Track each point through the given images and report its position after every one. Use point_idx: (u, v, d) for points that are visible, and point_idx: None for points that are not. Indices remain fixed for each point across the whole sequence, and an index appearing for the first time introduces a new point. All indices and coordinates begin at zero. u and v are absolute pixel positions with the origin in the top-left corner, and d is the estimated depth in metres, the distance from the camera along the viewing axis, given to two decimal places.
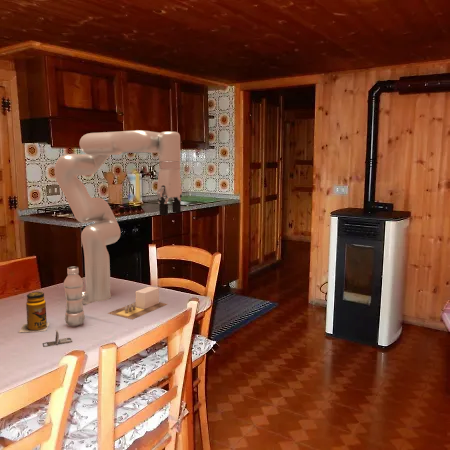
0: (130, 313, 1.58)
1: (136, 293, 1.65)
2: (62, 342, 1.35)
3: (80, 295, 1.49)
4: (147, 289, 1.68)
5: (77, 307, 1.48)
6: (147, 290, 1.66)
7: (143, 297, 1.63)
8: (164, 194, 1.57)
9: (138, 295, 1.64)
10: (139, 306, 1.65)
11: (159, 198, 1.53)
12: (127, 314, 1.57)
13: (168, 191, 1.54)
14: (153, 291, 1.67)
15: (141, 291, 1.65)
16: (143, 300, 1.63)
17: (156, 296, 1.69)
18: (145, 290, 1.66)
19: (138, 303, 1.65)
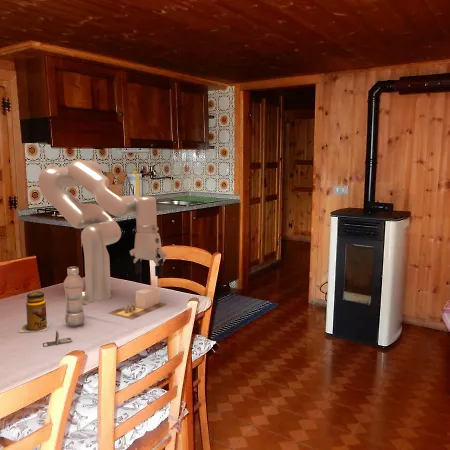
0: (130, 313, 1.58)
1: (136, 293, 1.65)
2: (62, 342, 1.35)
3: (80, 295, 1.49)
4: (147, 289, 1.68)
5: (77, 307, 1.48)
6: (147, 290, 1.66)
7: (143, 297, 1.63)
8: None
9: (138, 295, 1.64)
10: (139, 306, 1.65)
11: None
12: (127, 314, 1.57)
13: (134, 252, 1.66)
14: (153, 291, 1.67)
15: (141, 291, 1.65)
16: (143, 300, 1.63)
17: (156, 296, 1.69)
18: (145, 290, 1.66)
19: (138, 303, 1.65)
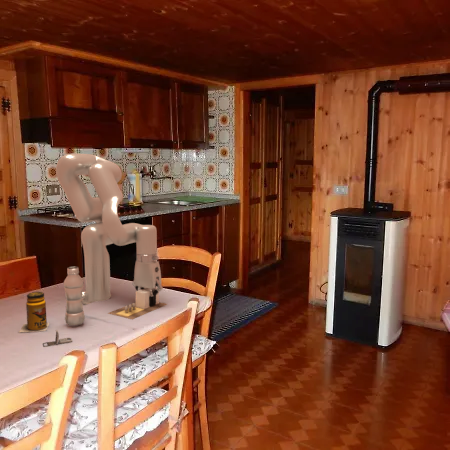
0: (130, 313, 1.58)
1: (136, 293, 1.65)
2: (62, 342, 1.35)
3: (80, 295, 1.49)
4: (147, 289, 1.68)
5: (77, 307, 1.48)
6: (147, 290, 1.66)
7: (143, 297, 1.63)
8: None
9: (138, 295, 1.64)
10: (139, 306, 1.65)
11: None
12: (127, 314, 1.57)
13: (134, 279, 1.68)
14: (153, 291, 1.67)
15: (141, 291, 1.65)
16: (143, 300, 1.63)
17: (156, 296, 1.69)
18: (145, 290, 1.66)
19: (138, 303, 1.65)
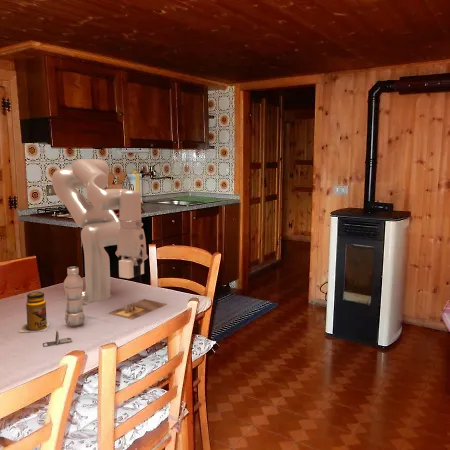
0: (130, 313, 1.58)
1: (119, 262, 1.55)
2: (62, 342, 1.35)
3: (80, 295, 1.49)
4: (131, 258, 1.58)
5: (77, 307, 1.48)
6: (131, 259, 1.57)
7: (127, 266, 1.54)
8: None
9: (122, 264, 1.55)
10: (123, 276, 1.55)
11: None
12: (127, 314, 1.57)
13: (117, 248, 1.58)
14: None
15: (125, 260, 1.56)
16: (127, 269, 1.54)
17: (141, 266, 1.60)
18: (129, 259, 1.57)
19: (122, 273, 1.55)
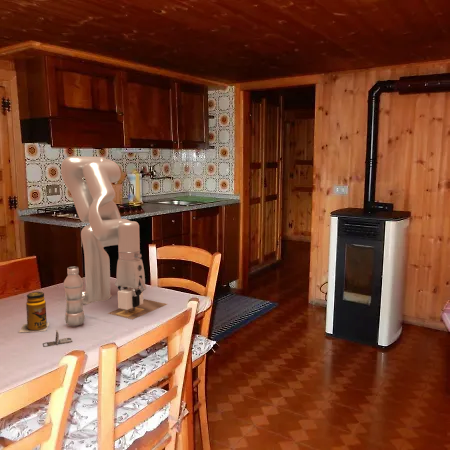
0: (130, 313, 1.58)
1: (118, 293, 1.56)
2: (62, 342, 1.35)
3: (80, 295, 1.49)
4: (130, 289, 1.59)
5: (77, 307, 1.48)
6: (130, 290, 1.57)
7: (125, 297, 1.54)
8: None
9: (120, 295, 1.56)
10: (121, 307, 1.56)
11: None
12: (127, 314, 1.57)
13: None
14: None
15: (123, 291, 1.56)
16: (125, 300, 1.55)
17: (140, 296, 1.60)
18: (128, 290, 1.58)
19: (120, 304, 1.56)
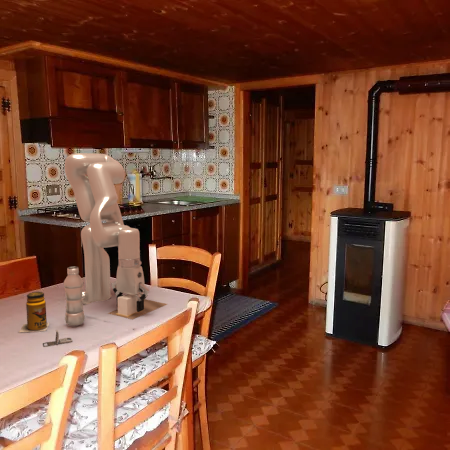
0: None
1: (118, 299, 1.56)
2: (62, 342, 1.35)
3: (80, 295, 1.49)
4: (130, 295, 1.59)
5: (77, 307, 1.48)
6: (130, 296, 1.58)
7: (125, 303, 1.55)
8: None
9: (120, 301, 1.56)
10: (121, 313, 1.56)
11: None
12: None
13: (116, 285, 1.59)
14: None
15: (123, 297, 1.57)
16: (125, 307, 1.55)
17: None
18: (128, 296, 1.58)
19: (120, 310, 1.56)
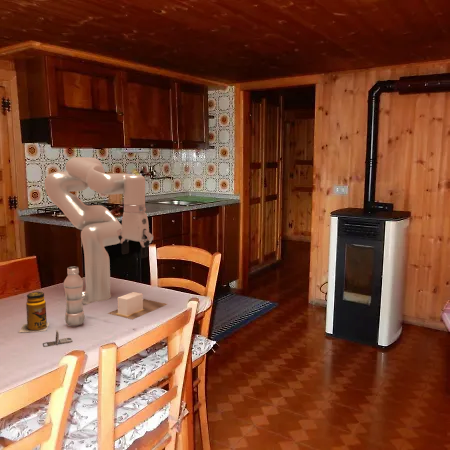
0: None
1: (118, 299, 1.56)
2: (62, 342, 1.35)
3: (80, 295, 1.49)
4: (130, 295, 1.59)
5: (77, 307, 1.48)
6: (130, 296, 1.58)
7: (125, 303, 1.55)
8: None
9: (120, 301, 1.56)
10: (121, 313, 1.56)
11: None
12: None
13: (121, 232, 1.61)
14: (136, 297, 1.59)
15: (123, 297, 1.57)
16: (125, 307, 1.55)
17: (140, 302, 1.61)
18: (128, 296, 1.58)
19: (120, 310, 1.56)
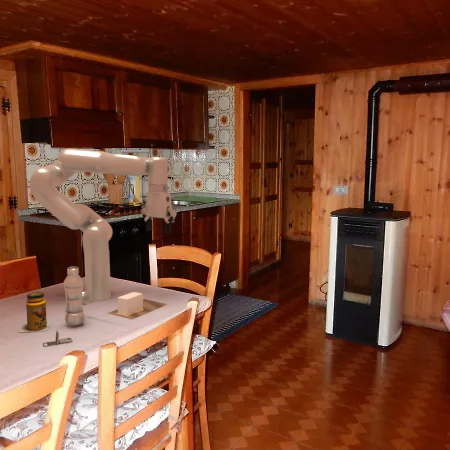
0: None
1: (118, 299, 1.56)
2: (62, 342, 1.35)
3: (80, 295, 1.49)
4: (130, 295, 1.59)
5: (77, 307, 1.48)
6: (130, 296, 1.58)
7: (125, 303, 1.55)
8: None
9: (120, 301, 1.56)
10: (121, 313, 1.56)
11: None
12: None
13: (146, 210, 1.74)
14: (136, 297, 1.59)
15: (123, 297, 1.57)
16: (125, 307, 1.55)
17: (140, 302, 1.61)
18: (128, 296, 1.58)
19: (120, 310, 1.56)
